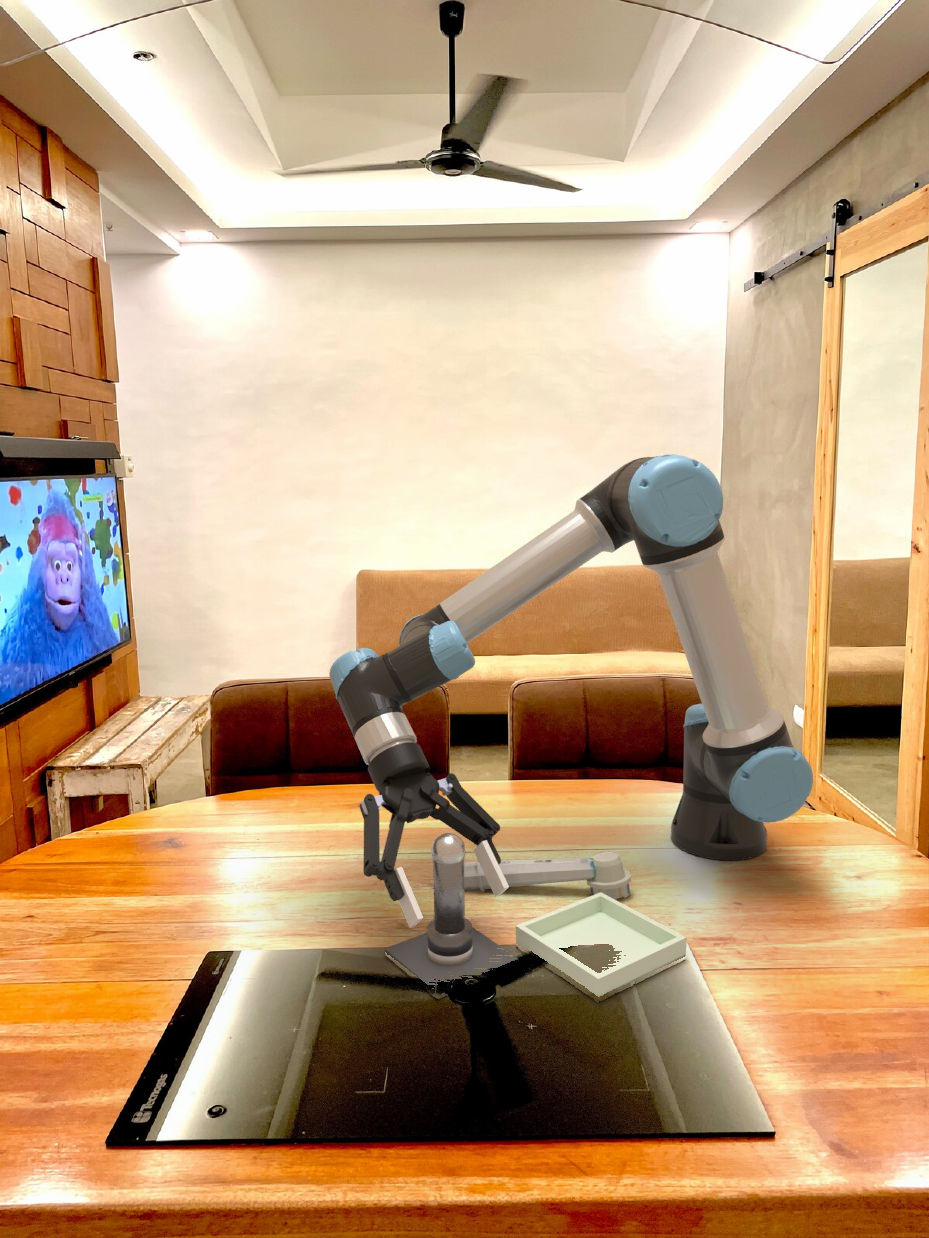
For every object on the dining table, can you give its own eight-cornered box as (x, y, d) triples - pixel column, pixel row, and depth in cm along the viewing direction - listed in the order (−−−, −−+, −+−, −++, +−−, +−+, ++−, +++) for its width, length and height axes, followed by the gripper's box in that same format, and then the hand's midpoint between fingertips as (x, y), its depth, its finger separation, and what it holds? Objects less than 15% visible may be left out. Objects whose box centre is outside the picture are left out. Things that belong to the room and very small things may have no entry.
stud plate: (461, 926, 118) (461, 911, 117) (517, 965, 108) (517, 949, 108) (384, 955, 111) (384, 939, 110) (437, 1000, 101) (436, 982, 101)
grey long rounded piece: (458, 855, 131) (626, 840, 127) (465, 896, 132) (632, 883, 128) (453, 870, 126) (627, 855, 122) (460, 913, 127) (633, 900, 123)
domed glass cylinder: (455, 928, 113) (453, 821, 110) (481, 946, 108) (480, 836, 106) (419, 941, 110) (416, 832, 107) (444, 961, 105) (441, 847, 103)
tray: (600, 912, 121) (600, 892, 120) (685, 959, 109) (686, 937, 108) (516, 947, 112) (515, 925, 112) (598, 1002, 100) (598, 978, 100)
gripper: (456, 751, 125) (524, 890, 115) (300, 788, 111) (362, 949, 102) (477, 723, 120) (551, 867, 110) (317, 758, 106) (384, 926, 96)
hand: (460, 907), depth 106 cm, fingers open, 12 cm apart
